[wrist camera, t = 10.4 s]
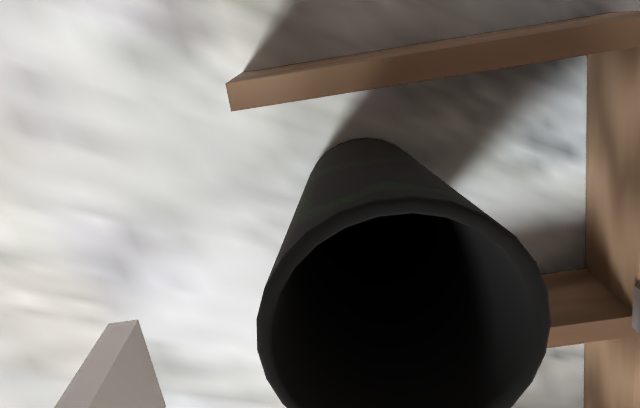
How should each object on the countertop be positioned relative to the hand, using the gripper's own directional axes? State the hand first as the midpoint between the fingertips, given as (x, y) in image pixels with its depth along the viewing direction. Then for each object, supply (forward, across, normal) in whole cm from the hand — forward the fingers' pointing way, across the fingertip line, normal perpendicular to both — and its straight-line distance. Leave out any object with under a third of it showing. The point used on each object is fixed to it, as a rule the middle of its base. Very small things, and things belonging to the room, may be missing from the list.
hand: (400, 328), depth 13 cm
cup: (+12, 0, -1) cm, 12 cm away
